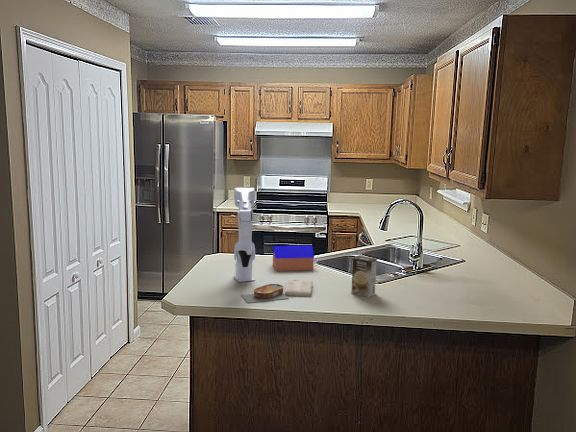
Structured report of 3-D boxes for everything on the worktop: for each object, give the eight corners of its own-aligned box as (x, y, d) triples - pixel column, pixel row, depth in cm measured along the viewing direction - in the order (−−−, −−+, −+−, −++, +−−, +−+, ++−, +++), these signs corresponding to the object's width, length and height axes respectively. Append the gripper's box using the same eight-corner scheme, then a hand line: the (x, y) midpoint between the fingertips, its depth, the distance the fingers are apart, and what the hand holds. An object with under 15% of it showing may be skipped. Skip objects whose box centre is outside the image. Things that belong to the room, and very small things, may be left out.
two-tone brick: (272, 265, 271) (272, 243, 269) (309, 264, 274) (309, 242, 272) (275, 271, 259) (275, 248, 257) (314, 270, 262) (314, 247, 260)
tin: (272, 282, 230) (287, 285, 224) (272, 289, 230) (287, 292, 225) (249, 290, 218) (264, 293, 213) (249, 297, 218) (264, 300, 213)
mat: (241, 295, 220) (241, 295, 220) (280, 291, 226) (280, 291, 226) (247, 303, 211) (247, 302, 211) (288, 298, 217) (288, 298, 217)
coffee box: (350, 293, 226) (351, 257, 223) (356, 289, 231) (358, 255, 228) (369, 297, 221) (371, 261, 218) (375, 293, 226) (377, 258, 223)
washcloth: (312, 285, 238) (312, 279, 237) (312, 298, 220) (312, 291, 220) (287, 284, 239) (287, 278, 238) (284, 297, 221) (284, 290, 220)
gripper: (232, 234, 230) (232, 263, 232) (240, 240, 216) (240, 271, 219) (247, 233, 232) (247, 262, 234) (256, 239, 219) (256, 270, 221)
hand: (245, 266), depth 227 cm, fingers closed
